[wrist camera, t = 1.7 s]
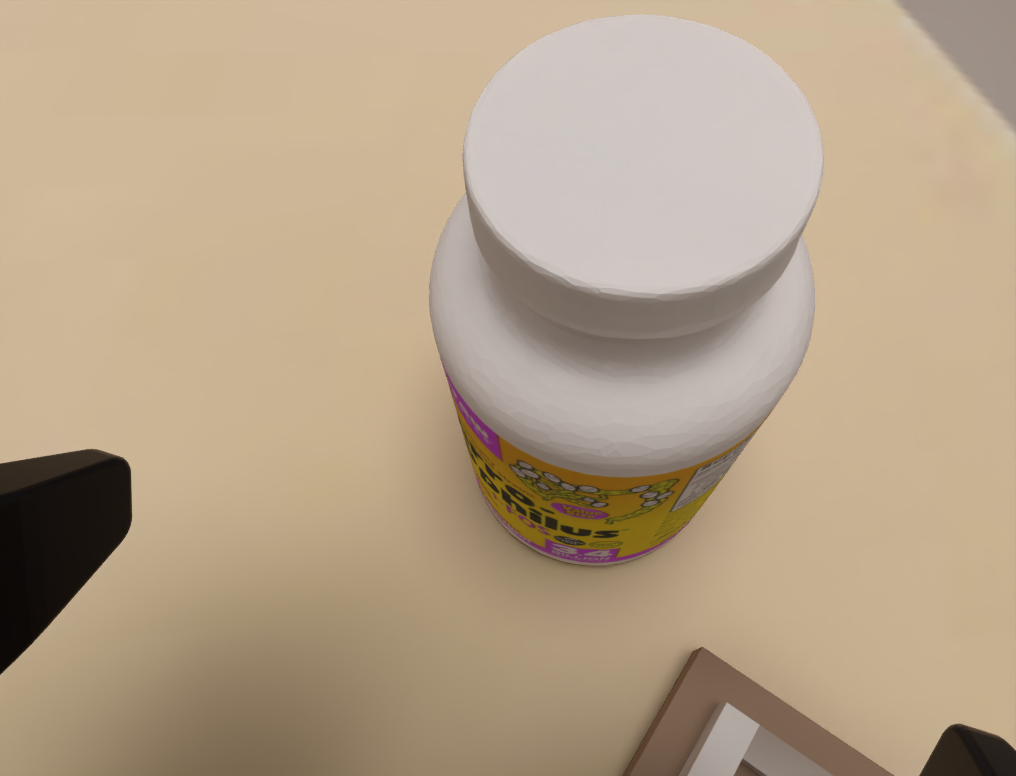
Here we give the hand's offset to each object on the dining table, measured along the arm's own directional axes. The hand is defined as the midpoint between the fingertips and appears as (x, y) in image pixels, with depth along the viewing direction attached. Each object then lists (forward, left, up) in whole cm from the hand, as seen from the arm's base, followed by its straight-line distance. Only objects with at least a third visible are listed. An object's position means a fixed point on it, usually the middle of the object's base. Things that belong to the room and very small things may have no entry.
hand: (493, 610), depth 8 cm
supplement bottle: (+6, +2, -12) cm, 14 cm away
